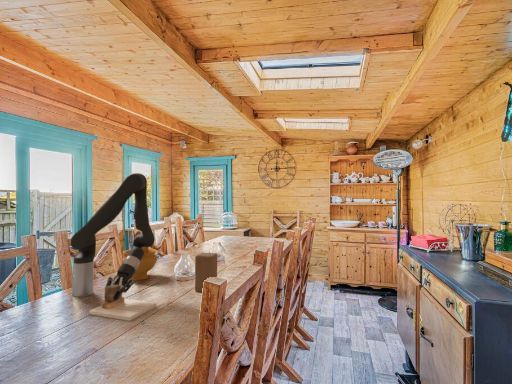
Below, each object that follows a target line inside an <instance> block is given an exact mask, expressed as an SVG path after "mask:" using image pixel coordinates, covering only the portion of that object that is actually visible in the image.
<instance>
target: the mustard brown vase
mask: <svg viewBox="0 0 512 384" xmlns="http://www.w3.org/2000/svg"><path fill="white" fill-rule="evenodd" d="M139 234H141V231H140V230H137V231H136V232H135V234H134V238H135V237H136V236H137V235H139ZM141 249H142V250H143V251H144V256H143V258H142V259H141V261H140V263H139V266H138V268H137V269H136V271H135V273H134V275H133V277H132V278H131V280H132V281H133V280H135V281H140V280H145V279H148V278H149V275H148V272H149V271H151V270H152V269H153V268H154V267H155V265H156V263H157V262H158V261H157V260H158V256H157V255H156V252H157V249H156V248H151V247H142V248H141ZM130 251H131V249H130V248H129V249H127V250H123V251H122V254H123V255H124V256H123V257H122V259H121V264H122V263H123V261H124V260H125V258H126V257H127V256H128V254H129V252H130Z"/></svg>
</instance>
